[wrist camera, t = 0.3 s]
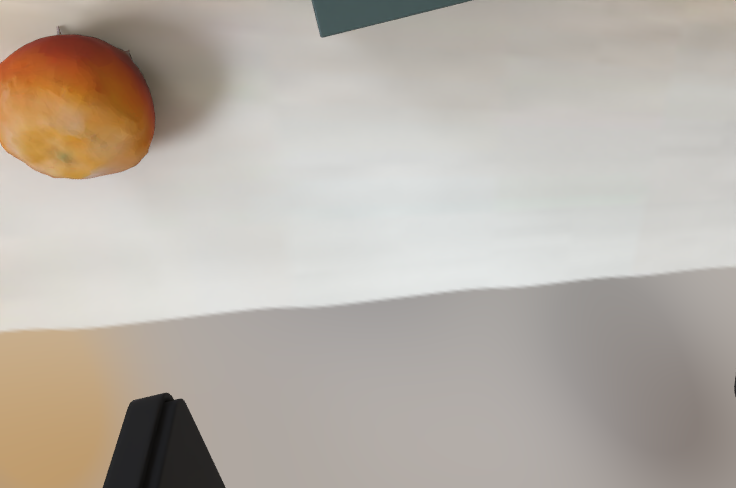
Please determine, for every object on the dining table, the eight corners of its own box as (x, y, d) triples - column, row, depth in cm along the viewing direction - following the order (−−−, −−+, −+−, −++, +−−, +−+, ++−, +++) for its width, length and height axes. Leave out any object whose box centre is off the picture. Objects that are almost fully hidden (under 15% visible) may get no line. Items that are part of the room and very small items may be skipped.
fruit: (164, 4, 34) (135, 119, 30) (171, 105, 40) (148, 210, 36) (0, -25, 32) (-54, 92, 28) (35, 85, 39) (-4, 192, 35)
